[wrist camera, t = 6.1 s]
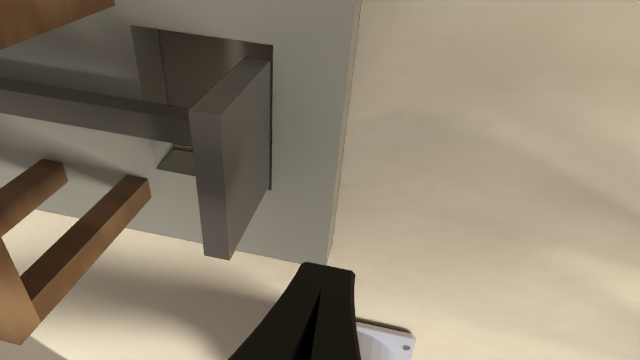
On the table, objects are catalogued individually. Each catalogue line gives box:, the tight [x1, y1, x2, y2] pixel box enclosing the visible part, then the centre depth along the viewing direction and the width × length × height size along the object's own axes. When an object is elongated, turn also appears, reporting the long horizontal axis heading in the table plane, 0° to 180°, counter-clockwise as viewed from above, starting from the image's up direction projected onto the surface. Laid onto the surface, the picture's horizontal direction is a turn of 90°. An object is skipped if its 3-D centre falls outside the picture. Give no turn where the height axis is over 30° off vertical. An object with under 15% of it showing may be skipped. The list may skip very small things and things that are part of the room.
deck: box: [0, 0, 362, 265], centre depth 21 cm, size 16×26×2 cm, turn 86°
